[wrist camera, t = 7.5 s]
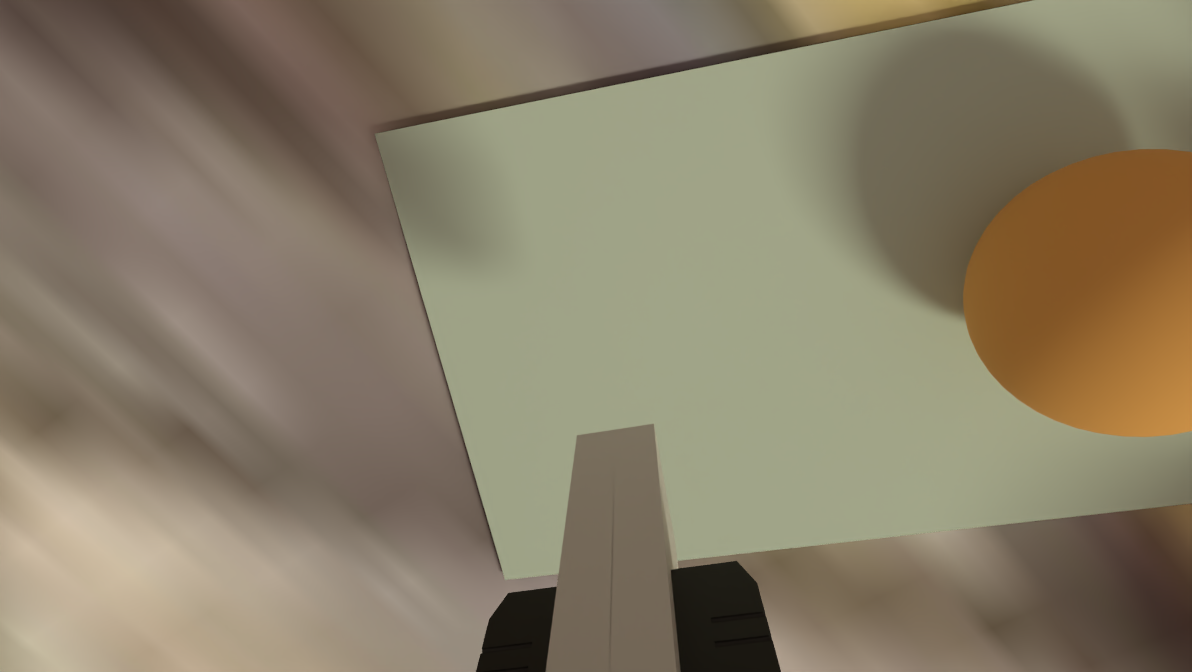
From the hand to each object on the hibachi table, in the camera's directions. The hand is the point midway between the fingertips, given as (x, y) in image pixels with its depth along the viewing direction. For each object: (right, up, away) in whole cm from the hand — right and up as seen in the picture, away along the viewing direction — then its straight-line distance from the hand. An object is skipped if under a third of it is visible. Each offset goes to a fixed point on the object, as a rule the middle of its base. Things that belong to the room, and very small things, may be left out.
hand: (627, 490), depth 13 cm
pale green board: (+11, +4, +4) cm, 12 cm away
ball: (+11, +4, +1) cm, 11 cm away
